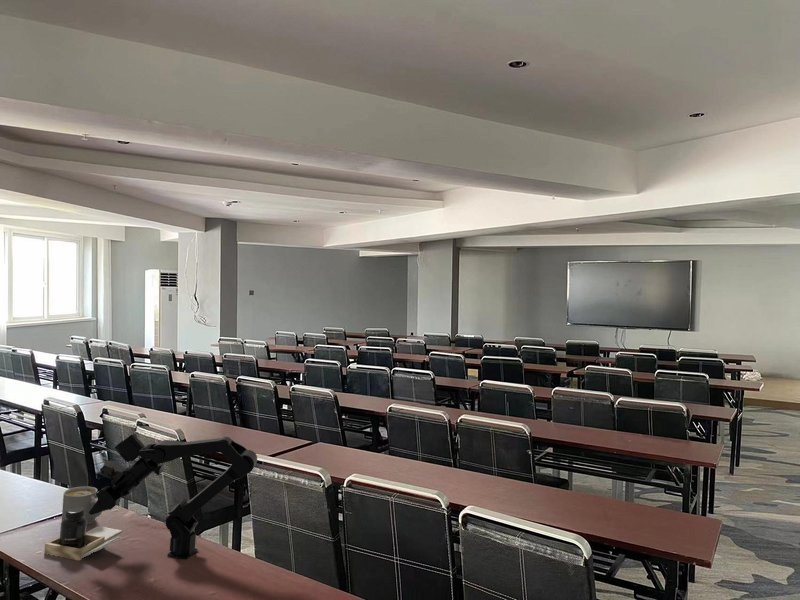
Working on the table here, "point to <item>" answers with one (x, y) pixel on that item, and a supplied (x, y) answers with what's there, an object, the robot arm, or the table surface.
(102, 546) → the frame lid
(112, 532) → the felt mat
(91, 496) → the coffee mug
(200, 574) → the table surface
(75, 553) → the frame
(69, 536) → the supplement bottle
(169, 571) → the table surface
